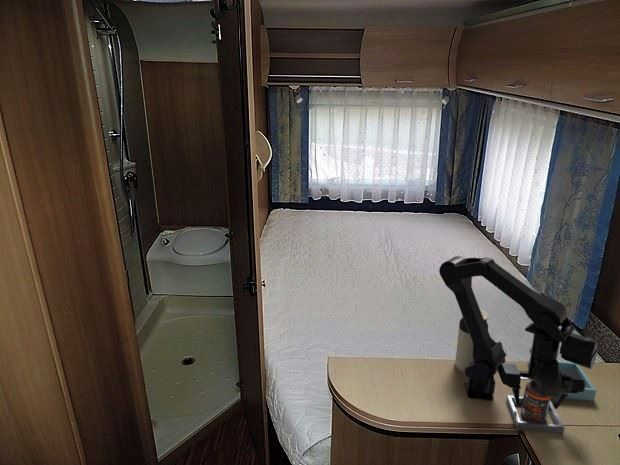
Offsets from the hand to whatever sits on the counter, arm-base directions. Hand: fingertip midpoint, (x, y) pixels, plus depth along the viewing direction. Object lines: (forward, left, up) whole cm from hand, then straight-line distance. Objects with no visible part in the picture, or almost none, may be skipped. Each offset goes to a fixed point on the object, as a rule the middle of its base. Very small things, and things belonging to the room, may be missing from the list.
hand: (535, 406), depth 113 cm
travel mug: (-13, +20, -4) cm, 24 cm away
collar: (0, 0, -3) cm, 3 cm away
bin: (+11, +15, -3) cm, 19 cm away
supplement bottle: (0, 0, -4) cm, 4 cm away
